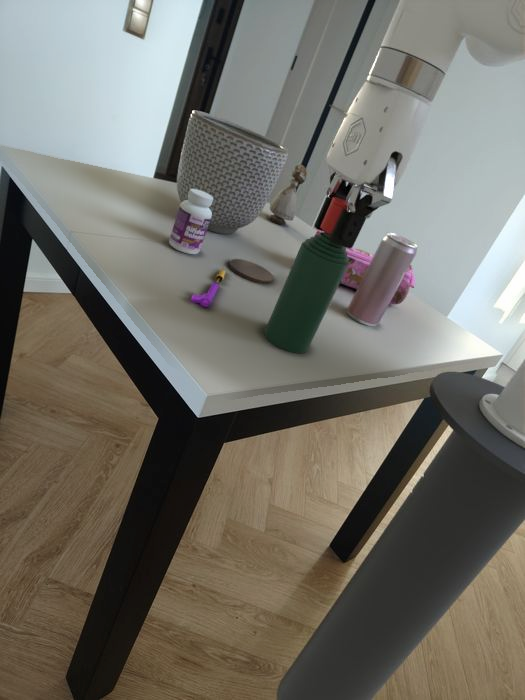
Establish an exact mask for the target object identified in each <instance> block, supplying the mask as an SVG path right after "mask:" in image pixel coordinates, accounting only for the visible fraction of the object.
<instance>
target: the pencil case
mask: <svg viewBox="0 0 525 700" xmlns="http://www.w3.org/2000/svg"><path fill="white" fill-rule="evenodd" d="M321 232H324V231H321V230H318V229H317V231H316V232H315V234H314V235H313V237H315V235H319V234H320V233H321ZM346 252H347V253H348V255H347V256H348V257H349V261H348V262H349V265H348V267H347V269H346V271H345V273H344V275H343V277H342V280H341V282H340V284H341V285H344V286H346V287H349V288H351V289H355V290H357V288H358V286H359V284H360V282H361V280H362V278H363V276H364V274H365V272H366V270H367V268H368V266H369V264H370V262H371V260H372V258H373V256H374V254H375V253H371V252H368V251H364V250H362V249H359V248H358V247H357V248H356V247H354V246H353V247H352V248H347V247H346ZM415 283H416V276H415V275H414V266H413V265H412V264H410V266H409V268H408V270H407V272H406V274H405V275H404V277H403V279H402V281H401V283H400V285H399V287H398V288H397V290H396V292H395V294H394V296H393V298H392V300H391V301H390V303H389V304H391V305H394V306H395V305H400V304H401V303H403V302H404V301H405V299H406V298H407V296H408V294H409V292H410V290H411V288H412V289H414V288H415ZM340 284H339V285H340Z"/></svg>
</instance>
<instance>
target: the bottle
mask: <svg viewBox="0 0 525 700" xmlns="http://www.w3.org/2000/svg"><path fill="white" fill-rule="evenodd" d="M314 235H315V234H314ZM330 236H331V234H329V233H327V232H325V231H324V232H321V233H320V234H319V235H315V237H314V236H310V237H309V238H306V239H304V241H302V243H300V244H301V245H300V247H299V249H298V252H297V253H296V256H295V258H294V260H293V263H292V265H291V268H290V270H289V273H288V275H287V277H286V280H285V282H284V284H283V287H282V289H281V291H280V293H279V296H278V299H277V301H276V303H275V305H274V308H273V310H272V312H271V315H270V317H269V319H268V322H267V324H266V326H265V329H264V331H263V332H264V337H266V339H267V340H268V341H269V342H270V343H272V344H273V345H274V346H276V347H278V348H280V349H281V350H284V351H287V352H290V353H295V354H304V353H306V352H308V350H309V348H310V346H311V343H312V341H314V337H315V336H316V333H317V331H318V329H319V327H320V326H321V323H322V321H323V319H324V317H325V315H326V313H327V310H328V309H329V306H330V305H331V302H332V300H333V298H334V296H335V294H336V292H337V290H338V288H339V286H340V282H341V280H342V277H343V275H344V273H345V271H346V269H347V267H348V265H349V262H348V261H349V257H348V256H347V255H348V253H347V252H346V247H344V246H340V245H337V244H334V243H332V242H330V240H329V238H330Z"/></svg>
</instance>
